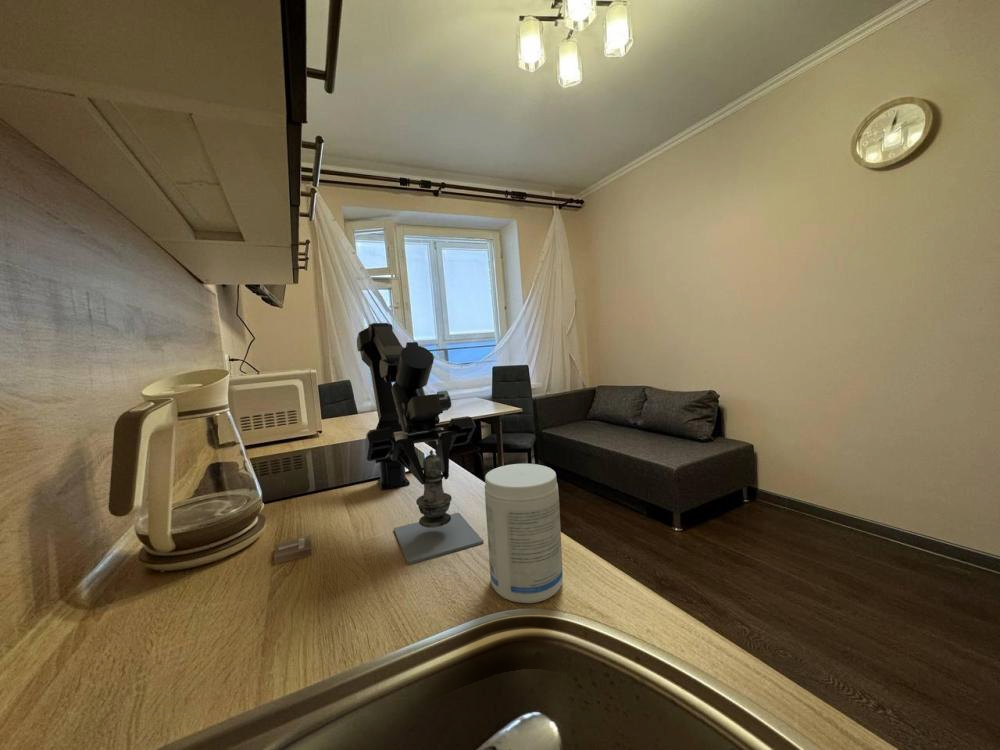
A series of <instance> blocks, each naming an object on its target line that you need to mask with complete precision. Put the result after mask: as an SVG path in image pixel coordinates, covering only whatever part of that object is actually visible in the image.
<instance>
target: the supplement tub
mask: <svg viewBox="0 0 1000 750" xmlns="http://www.w3.org/2000/svg"><path fill="white" fill-rule="evenodd" d="M484 481H485V482H484V483H485V484H484V500H485V515H486V518H485V519H486V526H487V527H486V529H487V544H488V545H487V546H488V559H489V560H488V561H489V572H490V573H489V574H490V576H489V577H490V582H491V586H492V588H493V590H494V591H495V592H496V593H497V594H498V595H499V596H500V597H502V598H503V599H506V600H508V601H511V602H515V603H520V604H522V603H523V604H534V603H540V602H543V601H546V600H547V599H550V598H551V597H553V596H554V595H556V593H558V591H559V590H560V588H561V587H562V584H563V579H564V575H563V572H564V571H563V555H562V554H563V552H562V551H563V549H562V535H561V534H562V533H561V532H562V531H561V530H562V529H561V516H560V515H561V513H560V512H561V510H560V496H559V495H560V494H559V484H558V482H557V473H556V471H555V470H554V469H552V468H551V467H548V466H546V465H541V464H538V463H535V464H534V463H514V464H513V463H512V464H506V465H502V466H499V467H496V468H493V469H491V470H489V471H488V472H487V473H486V474H485V476H484Z"/></svg>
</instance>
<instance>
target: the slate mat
mask: <svg viewBox="0 0 1000 750" xmlns="http://www.w3.org/2000/svg"><path fill="white" fill-rule="evenodd" d="M449 515H450V516H451V520H450V522H449V523H447V524H445V525H443V526H440V527H435V528H428V527H423V526H421V525H420V524H419V521H418V522H417V521H416V522H414V523H410V524H409V523H408V524H404V525H401V526H398V527H397V526H396V527H393V532H394V534H395V536H396V538H397V541H398V544H399V546H400V549H401V551H402V554H403V555H404V558H405V561H406V564H407V565H412V564H415V563H420V562H422V561H426V560H429V559H433V558H437V557H440V556H443V555H447V554H450V553H453V552H458V551H460V550H464V549H467V548H471V547H475V546H478V545H483V544H484V539H482V537H481V536H480V535H479V534H478V533H477V531H475V529H474V528H473V527H472V525H470V524H469V522H468V521H467V520H466V519H465V518H464V516H462V515H461V513H460V512H454V513H450V514H449Z"/></svg>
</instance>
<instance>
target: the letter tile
mask: <svg viewBox="0 0 1000 750" xmlns="http://www.w3.org/2000/svg"><path fill="white" fill-rule="evenodd" d="M311 536H312V535H311V534H310V535H305V536H301V537H300V536H299V537H297V538H296V537H295V538H291V539H289V540H288V539H287V540H284V541H280V542H276V543H275V548H274V556H273V560H274V562H273V563H274V565H278V564H281V563H284V562H285V563H286V562H289V561H292V560H296V559H301V558H304V557H308V556H312V537H311Z"/></svg>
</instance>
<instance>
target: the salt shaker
mask: <svg viewBox="0 0 1000 750" xmlns="http://www.w3.org/2000/svg"><path fill="white" fill-rule="evenodd" d="M422 465H423V468H422V469H423V473H424V477H425V484H423V490H424V491H423V495H421V496H419V497H418V498H417V499H416V502H415V503H416V505H417V506H418V509H419V513H421V514H422V515H423V516H422V517H420V518H419V520H418V522H419V524H420V525H421V526H423V527H428V528H435V527H440V526H443V525H445V524H447V523H449V522H450V520H451V516H450V514H449V513H447V512H448V510H449V508H450V505H451V502H452V499H453V498H452V496H451V494H449V493H446V492H445V491H444V488H443V479H445V478H444V475H443V474H442V472H441V460H440V458H439V457H438V456H437V455H436V454H434V451H433V449H431V450H429V454H428V455H426V456H425V457H424V458H423V460H422Z"/></svg>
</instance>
